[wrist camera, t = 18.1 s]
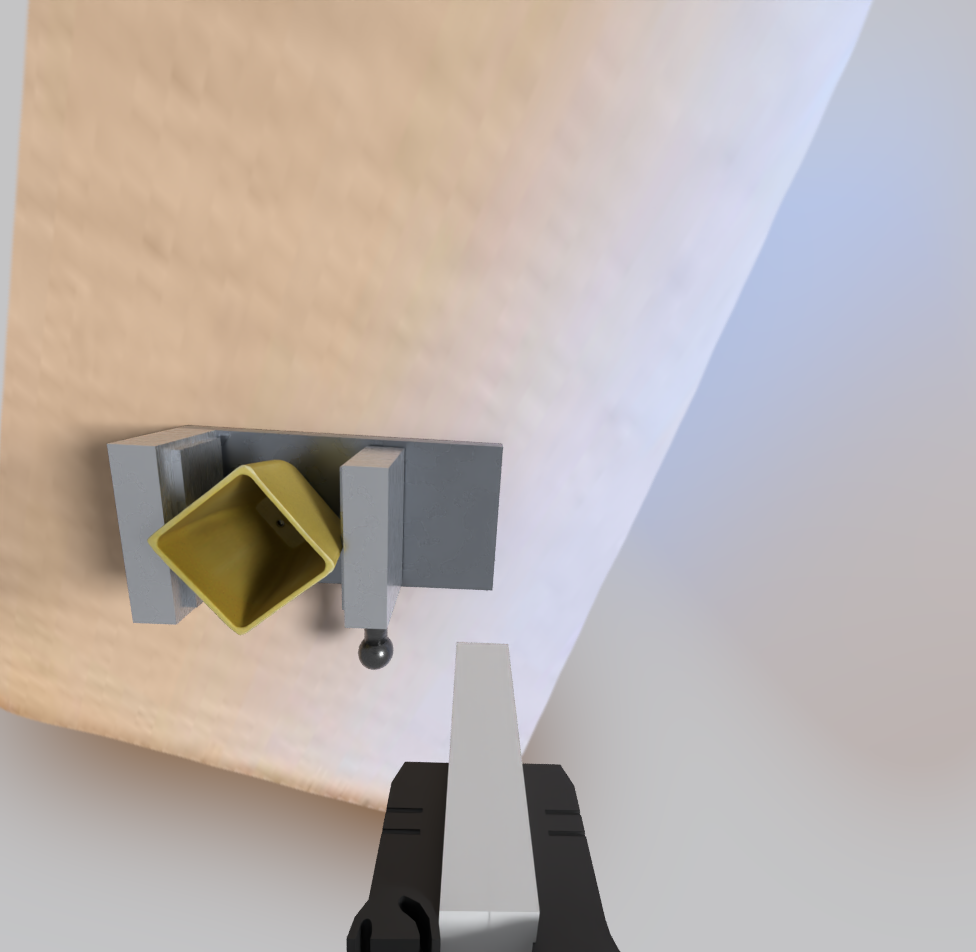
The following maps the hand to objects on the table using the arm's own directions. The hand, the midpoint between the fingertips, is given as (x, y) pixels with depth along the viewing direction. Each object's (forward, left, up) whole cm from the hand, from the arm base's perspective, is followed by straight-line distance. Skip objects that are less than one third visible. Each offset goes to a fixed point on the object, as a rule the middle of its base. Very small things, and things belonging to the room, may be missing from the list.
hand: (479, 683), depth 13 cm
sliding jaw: (+7, -8, -25) cm, 27 cm away
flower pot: (+4, -15, -25) cm, 30 cm away
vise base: (+4, -11, -26) cm, 29 cm away
